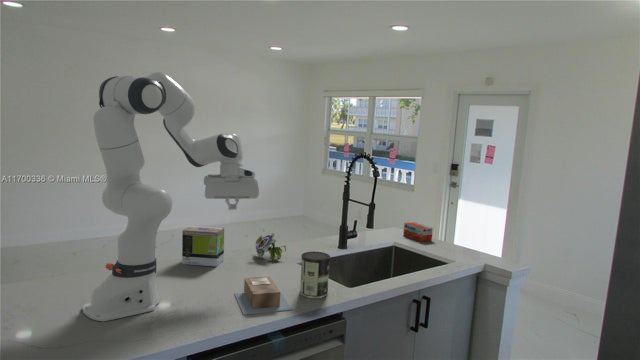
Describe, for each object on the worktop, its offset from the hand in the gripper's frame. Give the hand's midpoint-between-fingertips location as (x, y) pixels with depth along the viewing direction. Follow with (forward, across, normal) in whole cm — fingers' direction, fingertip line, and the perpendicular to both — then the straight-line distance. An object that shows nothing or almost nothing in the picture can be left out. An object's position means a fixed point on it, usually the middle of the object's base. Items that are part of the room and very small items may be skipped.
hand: (232, 209), depth 163 cm
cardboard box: (+28, +8, -1) cm, 29 cm away
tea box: (+14, -9, +32) cm, 36 cm away
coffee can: (+33, +28, -4) cm, 43 cm away
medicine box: (+2, +109, +58) cm, 123 cm away
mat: (+35, +8, -8) cm, 37 cm away
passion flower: (+13, +20, +35) cm, 42 cm away
